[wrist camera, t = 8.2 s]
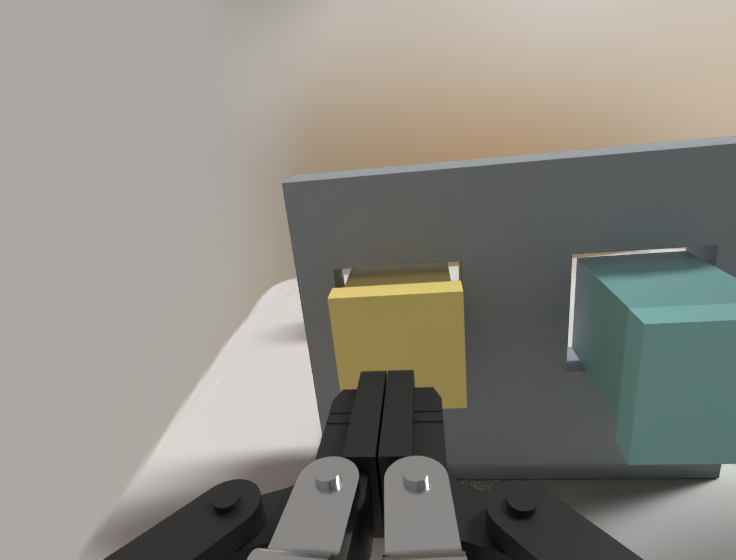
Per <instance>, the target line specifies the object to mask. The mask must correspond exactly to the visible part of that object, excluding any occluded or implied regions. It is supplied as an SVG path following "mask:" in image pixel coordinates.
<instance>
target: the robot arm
mask: <svg viewBox="0 0 736 560" xmlns="http://www.w3.org/2000/svg"><path fill="white" fill-rule="evenodd" d="M384 534H385V555H383V557H382V560H643V559H642V558H640V557H639V556H637V555H636V554H635V553H633V552H632V551H631V550H629V549H628V548H626V547H625V546H624V545H622V544H621V543H619V542H618V541H617V540H615V539H614V538H612V537H611V536H610V535H608V534H607V533H605V532H604V531H603V530H601V529H600V528H598V527H597V526H596V525H594V524H593V523H591V522H590V521H589V520H587V519H586V518H584V517H583V516H582V515H580V514H579V513H577V512H576V511H575V510H573V509H572V508H570V507H569V506H568V505H566V504H565V503H564V502H562V501H561V500H559V499H558V498H557V497H555V496H554V495H552V494H551V493H550V492H548V491H547V490H545V489H544V488H542V487H541V486H539V485H536V484H534V483H531V482H528V481H523V480H508V481H503V482H500V483H498V484H496V485H495V486H493V487H492V488H491V489H490V490H489V492H488V493H487V492H483V491H480V490H476V489H473V488H470V487H468V486H466V485H464V484H462V483H460V482H459V481H458V480H457V479H455V478H454V477H453V475H452V474H451V473H450V471H449V469H448V467H447V461H446V448H445V435H444V423H443V410H442V398H441V396H440V395H439V394H438V393H437V391H436V390H435V389H434V387H415V378H414V370H388V375H387V371H361V373H360V377H359V382H358V387H357V389H343V390H342V391H341V392H340V393H339V394H338V395H337V396H336V398H335V399H334V400H333V401H332V405H331V408H330V411H329V415H328V418H327V422H326V426H325V429H324V432H323V436H322V439H321V442H320V446H319V449H318V453H317V456H316V460H315V461H313V462H311V463H310V464H308V465H307V466H306V467H305V468H304V469H303V470H302V471H301V472H300V474H299V476H298V478H297V481H296V483H295V485H293V486H291V487H288V488H285V489H282V490H279V491H275V492H271V493H267V494H263V495H261V494H260V490H259V488H258V487H257V485H256V484H254V483H253V482H251V481H248V480H241V479H237V480H230V481H226V482H223V483H221V484H218V485H216V486H215V487H213V488H211V489H210V490H208V491H207V492H205V493H204V494H202V495H201V496H199V497H198V498H196V499H195V500H193V501H192V502H190V503H189V504H187V505H186V506H184V507H182V508H181V509H179V510H178V511H176V512H175V513H173V514H172V515H170V516H169V517H167V518H166V519H164V520H163V521H161V522H160V523H158V524H157V525H155V526H154V527H152V528H151V529H149V530H148V531H146V532H145V533H143V534H141V535H140V536H138V537H137V538H135V539H134V540H132V541H131V542H129V543H128V544H126V545H125V546H123V547H122V548H120V549H119V550H117V551H116V552H114V553H113V554H111V555H110V556H108V557H107V558H105V559H104V560H370V557H371V551H372V542H373V538H384Z"/></svg>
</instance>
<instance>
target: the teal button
mask: <svg viewBox="0 0 736 560" xmlns="http://www.w3.org/2000/svg"><path fill="white" fill-rule="evenodd" d="M572 349H573V351H574V352H575V354H576V355H577V357H578V358H579V360H580V362H581V363H582V365H583V366H584V368H585V370H586V371H587V373H588V374H589V376H590V377H591V379H592V381H593V382H594V384H595V385H596V387H597V388H598V390H599V392H600V393H601V395H602V396H603V398H604V400H605V401H606V403H607V404H608V406H609V407H610V409H611V411H612V412H613V414H614V415H615V417H616V419H617V420H618V421H617V431H616V441H615V442H616V444H617V446H618V447H619V449H620V451H621V452H622V454H623V456H624V458H625V459H626V461H627V463H628V464H629V465H665V464H736V278H735V277H733V276H731V275H730V274H728V273H726V272H724V271H722V270H720V269H719V268H717V267H715V266H713V265H711V264H710V263H708V262H706V261H704V260H702V259H700V258H699V257H697V256H695V255H693V254H691V253H690V252H688V251H680V252H664V253H648V254H632V255H616V256H600V257H584V258H577V270H576V287H575V305H574V323H573V341H572Z"/></svg>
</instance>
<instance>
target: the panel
mask: <svg viewBox="0 0 736 560" xmlns="http://www.w3.org/2000/svg"><path fill="white" fill-rule="evenodd" d="M282 187H283V193H284V200H285V205H286V212H287V218H288V224H289V231H290V236H291V243H292V250H293V256H294V262H295V268H296V274H297V281H298V287H299V293H300V299H301V306H302V312H303V318H304V324H305V331H306V337H307V343H308V349H309V356H310V362H311V368H312V374H313V380H314V387H315V393H316V399H317V405H318V412H319V418H320V424H321V430H322V436H323V432H324V429H325V426H326V422H327V418H328V415H329V411H330V408H331V405H332V401H333V400H334V399H335V398H336V396H337V395H338V394H339V393H340V385H339V378H338V371H337V364H336V357H335V349H334V342H333V335H332V328H331V321H330V314H329V306H328V296H329V294H330V292H331V290H332V288H343V287H345V284H344V276H343V269H346V268H362V267H378V266H394V265H410V264H426V263H442V262H457V261H459V281H461V284H462V288H463V297H464V329H465V360H466V391H467V408H446V409H442V410H443V423H444V435H445V448H446V461H447V467H448V469H449V471H450V473H451V474H452V475H453V477H454V478H455V479H457V480H478V479H628V478H719V474H720V469H721V464H665V465H629V464H628V463H627V461H626V459H625V458H624V456H623V454H622V452H621V451H620V449H619V447H618V446H617V444H616V442H615V441H616V431H617V421H618V420H617V419H616V417H615V415H614V414H613V412H612V411H611V409H610V407H609V406H608V404H607V403H606V401H605V400H604V398H603V396H602V395H601V393H600V392H599V390H598V388H597V387H596V385H595V384H594V382H593V381H592V379H591V377H590V376H589V374H588V373H587V371H586V370H585V368H584V366H583V365H582V363H581V362H580V360H579V358H578V357H577V355H576V354H575V352H574V351H573V349H572V347H568V328H569V308H570V289H571V270H572V254H584V253H600V252H616V251H631V250H647V249H663V248H679V247H686V251H688V252H690V253H691V254H693V255H695V256H697V257H699V258H700V259H702V260H704V261H706V262H708V263H710V264H711V265H713V266H715V267H717V268H719V269H720V270H722V271H724V272H726V273H728V274H730V275H731V276H733V277H735V278H736V136H729V137H718V138H707V139H696V140H685V141H673V142H662V143H652V144H640V145H629V146H618V147H607V148H595V149H584V150H574V151H562V152H551V153H539V154H528V155H517V156H506V157H495V158H483V159H472V160H461V161H450V162H439V163H427V164H416V165H406V166H394V167H383V168H371V169H361V170H349V171H338V172H327V173H315V174H304V175H295V176H293V177H291V178H290V179H288V180H286V181H285V182H283V183H282Z"/></svg>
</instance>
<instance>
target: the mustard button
mask: <svg viewBox="0 0 736 560" xmlns="http://www.w3.org/2000/svg"><path fill="white" fill-rule="evenodd" d="M328 306H329V314H330V321H331V328H332V335H333V342H334V349H335V357H336V364H337V371H338V378H339V385H340V392H341V391H342V390H343V389H357V387H358V382H359V377H360V373H361V371H387V375H388V370H414V378H415V387H434V389H435V390H436V391H437V393H438V394H439V395H440V396H441V398H442V409H446V408H467V391H466V360H465V329H464V297H463V288H462V284H461V281H451V279H450V274H449V269H448V264H447V262H442V263H426V264H410V265H394V266H378V267H362V268H352V269H351V272H350V274H349V277H348V280H347V282H346V285H345V287H343V288H332V290H331V292H330V294H329V296H328Z"/></svg>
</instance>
